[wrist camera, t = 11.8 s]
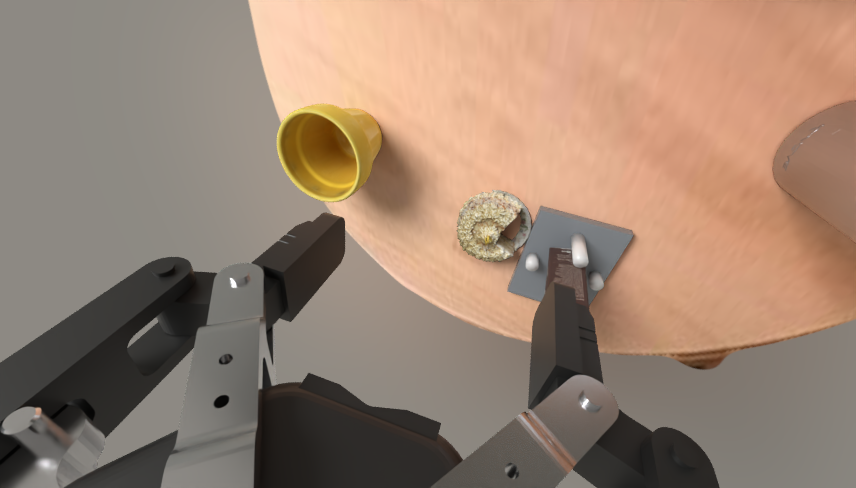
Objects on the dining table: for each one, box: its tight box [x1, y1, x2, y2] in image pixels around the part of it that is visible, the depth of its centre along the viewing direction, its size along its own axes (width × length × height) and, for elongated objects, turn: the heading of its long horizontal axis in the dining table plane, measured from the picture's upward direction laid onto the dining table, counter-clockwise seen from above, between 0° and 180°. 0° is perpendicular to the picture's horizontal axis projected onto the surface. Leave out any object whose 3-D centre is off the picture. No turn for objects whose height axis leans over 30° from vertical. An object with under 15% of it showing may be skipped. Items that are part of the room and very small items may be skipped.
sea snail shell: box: [457, 190, 532, 262], centre depth 44 cm, size 10×10×5 cm
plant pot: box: [277, 104, 382, 202], centre depth 40 cm, size 10×10×10 cm
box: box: [545, 247, 589, 310], centre depth 40 cm, size 6×4×12 cm
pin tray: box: [508, 206, 634, 305], centre depth 43 cm, size 11×14×6 cm
